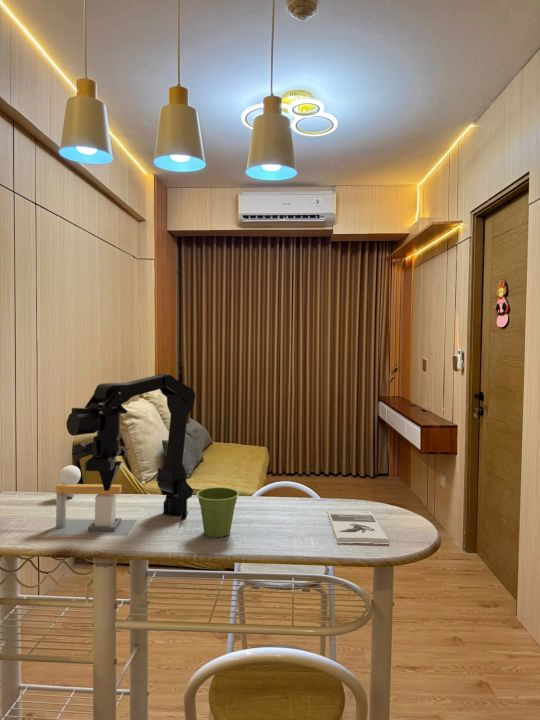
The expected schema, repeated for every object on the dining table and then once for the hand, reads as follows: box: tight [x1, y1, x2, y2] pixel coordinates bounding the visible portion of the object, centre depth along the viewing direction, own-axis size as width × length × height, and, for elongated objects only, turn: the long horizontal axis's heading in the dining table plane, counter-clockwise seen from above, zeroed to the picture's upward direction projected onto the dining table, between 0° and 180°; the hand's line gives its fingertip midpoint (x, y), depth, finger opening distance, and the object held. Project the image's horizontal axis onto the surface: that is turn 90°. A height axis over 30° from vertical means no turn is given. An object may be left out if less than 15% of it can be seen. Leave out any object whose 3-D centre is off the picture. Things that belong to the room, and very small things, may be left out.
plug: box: [94, 494, 117, 526], centre depth 130 cm, size 4×4×9 cm
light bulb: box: [59, 464, 82, 499], centre depth 159 cm, size 7×7×11 cm
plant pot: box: [196, 486, 240, 538], centre depth 130 cm, size 12×12×11 cm
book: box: [326, 509, 390, 544], centre depth 137 cm, size 23×14×2 cm, turn 0°
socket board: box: [46, 494, 138, 536], centre depth 130 cm, size 21×12×10 cm, turn 94°
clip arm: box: [55, 483, 123, 495], centre depth 130 cm, size 18×3×2 cm, turn 94°
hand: (106, 490), depth 124 cm, fingers closed
